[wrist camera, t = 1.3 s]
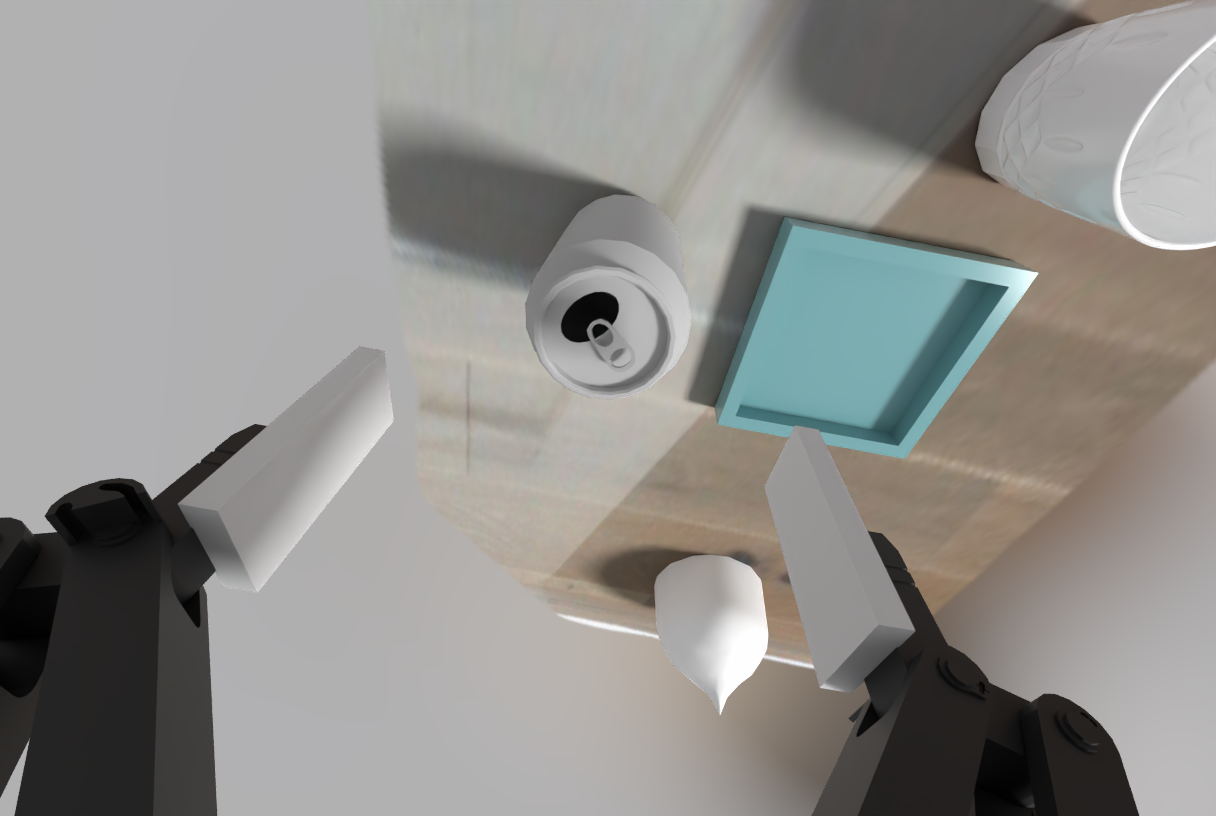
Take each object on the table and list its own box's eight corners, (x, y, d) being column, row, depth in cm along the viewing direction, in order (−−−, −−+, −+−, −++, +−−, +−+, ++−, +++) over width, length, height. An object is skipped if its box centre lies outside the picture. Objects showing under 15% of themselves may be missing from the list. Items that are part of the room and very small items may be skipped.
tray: (784, 216, 27) (793, 225, 25) (1014, 261, 27) (1038, 272, 26) (714, 407, 35) (717, 424, 33) (892, 440, 35) (904, 458, 34)
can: (629, 161, 26) (613, 207, 16) (705, 263, 29) (729, 355, 19) (538, 247, 29) (479, 328, 19) (614, 331, 32) (596, 439, 22)
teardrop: (702, 628, 53) (713, 752, 43) (632, 584, 49) (626, 708, 39) (784, 591, 47) (817, 722, 38) (712, 538, 44) (728, 669, 34)
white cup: (963, 221, 26) (1101, 282, 18) (957, 65, 22) (1129, 53, 14) (1136, 157, 24) (1384, 195, 16) (1163, -30, 20) (1512, -109, 12)
